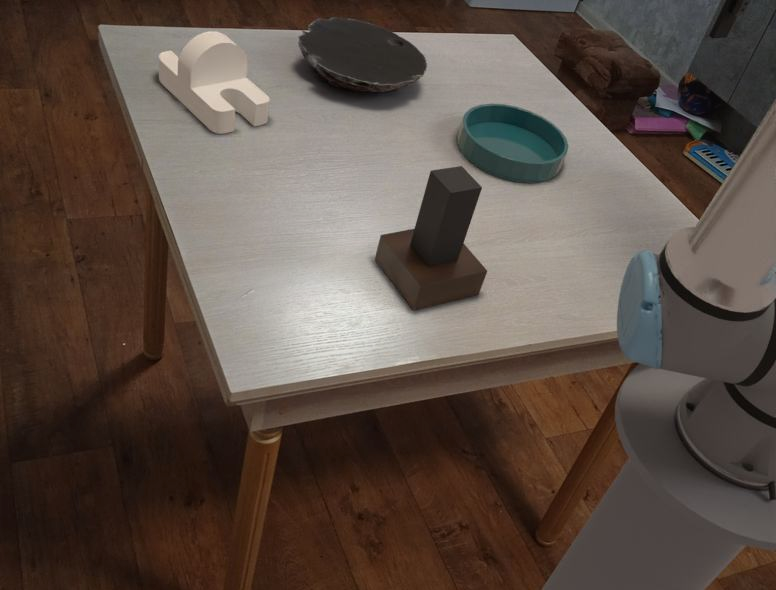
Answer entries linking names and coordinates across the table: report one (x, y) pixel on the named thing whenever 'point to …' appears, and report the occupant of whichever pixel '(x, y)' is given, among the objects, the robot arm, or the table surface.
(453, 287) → the stand
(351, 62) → the dark grey round slab
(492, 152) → the tin
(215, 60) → the slotted bracket
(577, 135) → the table surface
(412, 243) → the pillar
